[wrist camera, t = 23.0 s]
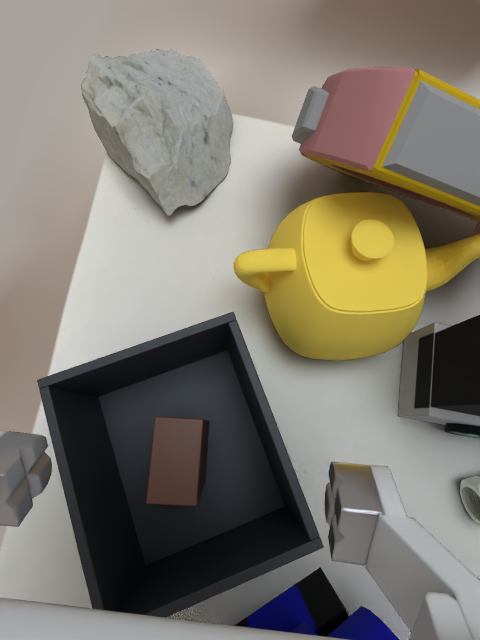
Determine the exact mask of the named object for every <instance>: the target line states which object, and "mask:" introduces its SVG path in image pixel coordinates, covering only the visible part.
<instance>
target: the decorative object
mask: <svg viewBox="0 0 480 640" xmlns="http://www.w3.org/2000/svg"><path fill="white" fill-rule="evenodd" d="M398 416H400V417H406V418H411V419H416V420H421V421H427V422H432V423H437V424H443V425H446V426H445V432H448V433H452V434H457V435H462V436H468V437H474V438H480V315H478V316H476V317H473V318H471V319H468V320H466V321H463V322H461V323H458V324H456V325H453V326H451V325H446V324H440V323H432V324H430V325H428V326H426V327H424V328H421V329H419V330H417V331H415V332H413V333H410V334H409V335H408V337H407V338H406V339H405V340H404V344H403V356H402V369H401V382H400V394H399V407H398Z"/></svg>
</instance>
